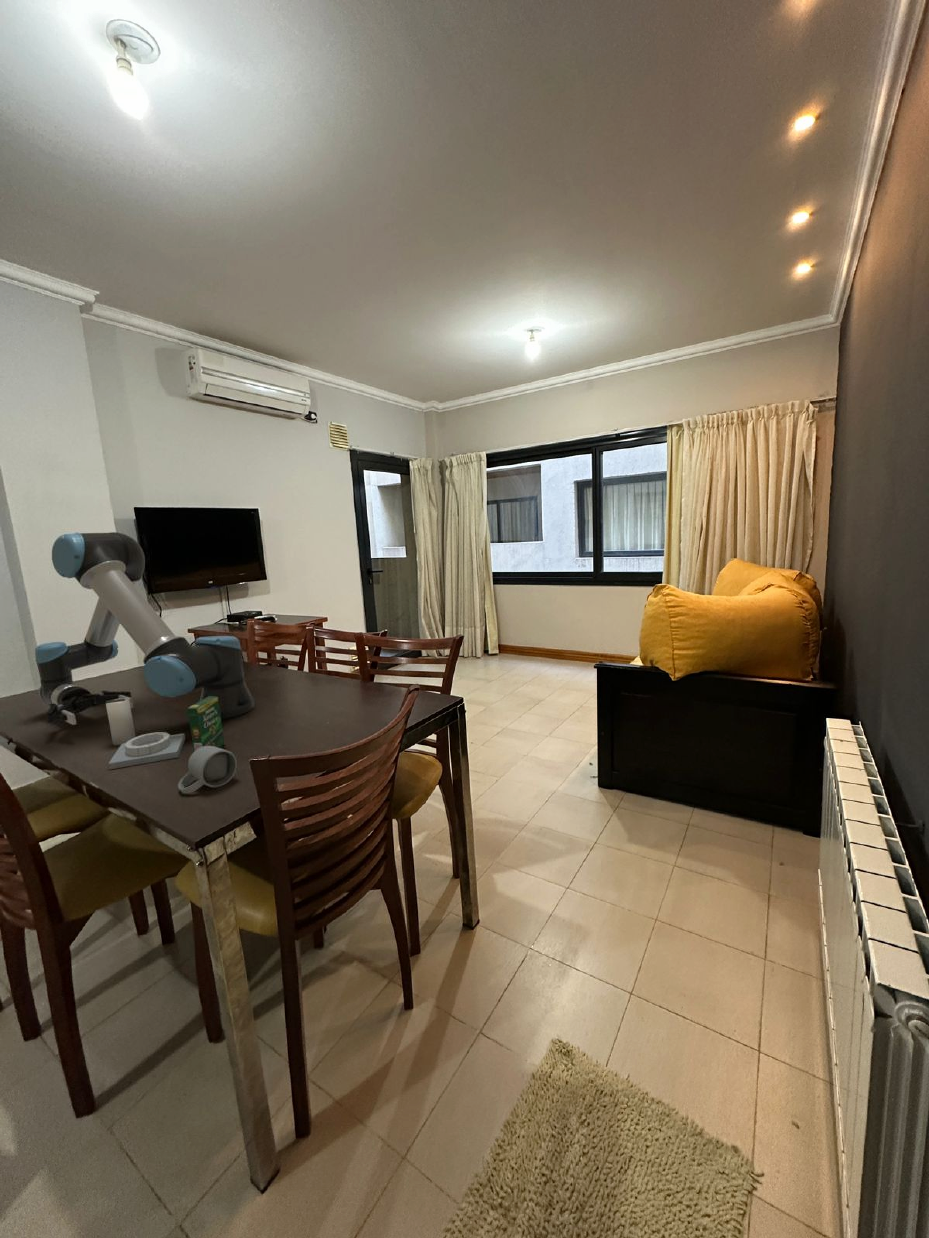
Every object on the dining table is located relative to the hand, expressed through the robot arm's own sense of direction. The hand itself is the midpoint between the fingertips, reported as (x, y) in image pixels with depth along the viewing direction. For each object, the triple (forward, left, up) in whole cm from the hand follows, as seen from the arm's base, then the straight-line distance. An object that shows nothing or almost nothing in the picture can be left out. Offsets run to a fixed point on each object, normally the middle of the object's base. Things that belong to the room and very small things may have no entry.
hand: (103, 711), depth 134 cm
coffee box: (-28, +26, -7) cm, 38 cm away
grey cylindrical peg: (-6, +8, -7) cm, 12 cm away
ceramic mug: (-29, +43, -7) cm, 52 cm away
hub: (-14, +20, -6) cm, 25 cm away
